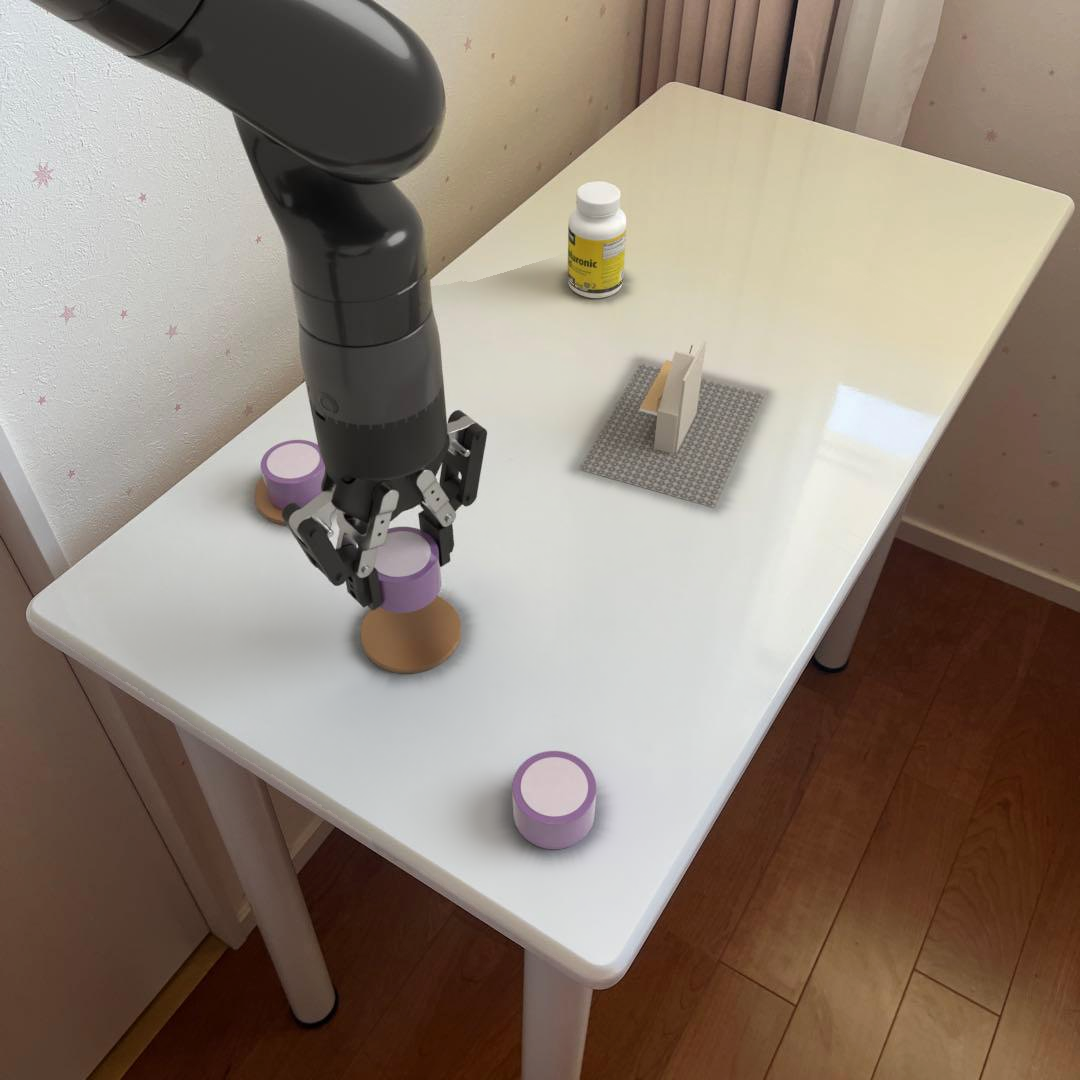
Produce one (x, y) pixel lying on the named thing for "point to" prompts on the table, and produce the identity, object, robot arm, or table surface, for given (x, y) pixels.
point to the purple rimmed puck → (554, 799)
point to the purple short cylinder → (292, 472)
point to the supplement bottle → (596, 241)
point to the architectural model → (675, 431)
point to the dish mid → (408, 570)
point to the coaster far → (267, 504)
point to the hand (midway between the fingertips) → (403, 578)
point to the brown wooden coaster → (411, 637)
